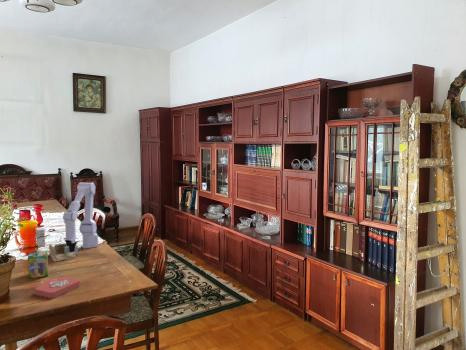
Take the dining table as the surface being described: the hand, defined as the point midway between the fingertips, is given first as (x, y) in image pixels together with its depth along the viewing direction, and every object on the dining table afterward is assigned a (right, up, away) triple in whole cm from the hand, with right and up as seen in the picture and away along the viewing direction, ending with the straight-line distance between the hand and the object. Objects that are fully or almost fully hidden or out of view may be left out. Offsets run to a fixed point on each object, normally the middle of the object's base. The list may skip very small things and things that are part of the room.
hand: (71, 251), depth 231 cm
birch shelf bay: (-5, -3, -1) cm, 6 cm away
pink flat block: (+15, -8, -51) cm, 54 cm away
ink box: (-32, -1, +21) cm, 38 cm away
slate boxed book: (0, -2, 0) cm, 2 cm away
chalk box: (-3, -6, -33) cm, 33 cm away
